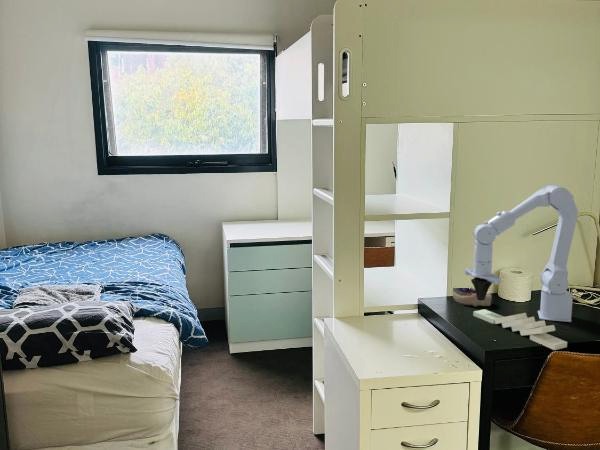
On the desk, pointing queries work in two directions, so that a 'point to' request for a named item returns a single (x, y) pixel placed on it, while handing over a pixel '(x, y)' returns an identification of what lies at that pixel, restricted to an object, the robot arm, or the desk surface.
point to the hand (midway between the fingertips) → (481, 299)
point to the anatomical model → (470, 297)
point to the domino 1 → (486, 315)
